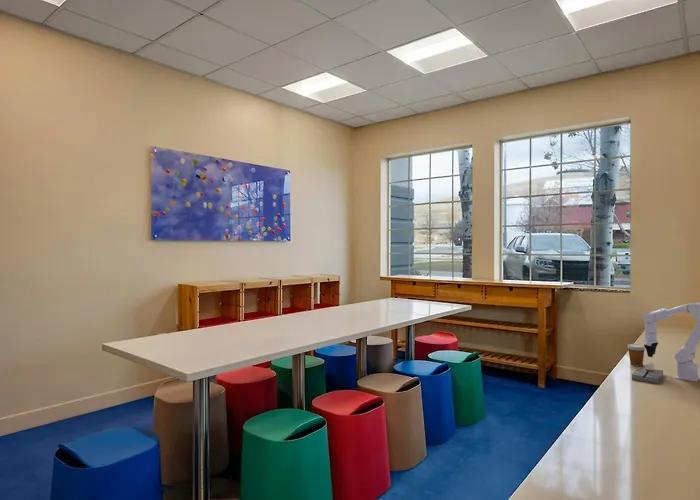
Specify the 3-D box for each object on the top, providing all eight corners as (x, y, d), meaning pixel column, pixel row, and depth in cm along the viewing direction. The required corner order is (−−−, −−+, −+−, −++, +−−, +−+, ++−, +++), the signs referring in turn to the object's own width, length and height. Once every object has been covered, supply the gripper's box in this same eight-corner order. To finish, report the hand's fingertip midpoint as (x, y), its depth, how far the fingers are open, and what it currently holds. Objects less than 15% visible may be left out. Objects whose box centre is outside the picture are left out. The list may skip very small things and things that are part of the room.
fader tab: (653, 371, 249) (653, 362, 249) (653, 373, 247) (652, 364, 247) (646, 370, 251) (646, 361, 251) (645, 371, 249) (645, 362, 249)
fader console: (663, 375, 247) (663, 370, 247) (657, 383, 233) (657, 378, 233) (638, 371, 255) (638, 366, 255) (631, 379, 242) (631, 374, 242)
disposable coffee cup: (645, 367, 264) (644, 347, 264) (626, 365, 270) (626, 346, 270) (646, 363, 272) (645, 344, 272) (628, 361, 277) (627, 343, 277)
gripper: (644, 330, 264) (645, 352, 264) (640, 334, 253) (641, 357, 253) (658, 331, 259) (659, 353, 259) (655, 335, 249) (655, 358, 249)
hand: (651, 355), depth 256 cm, fingers open, 7 cm apart
